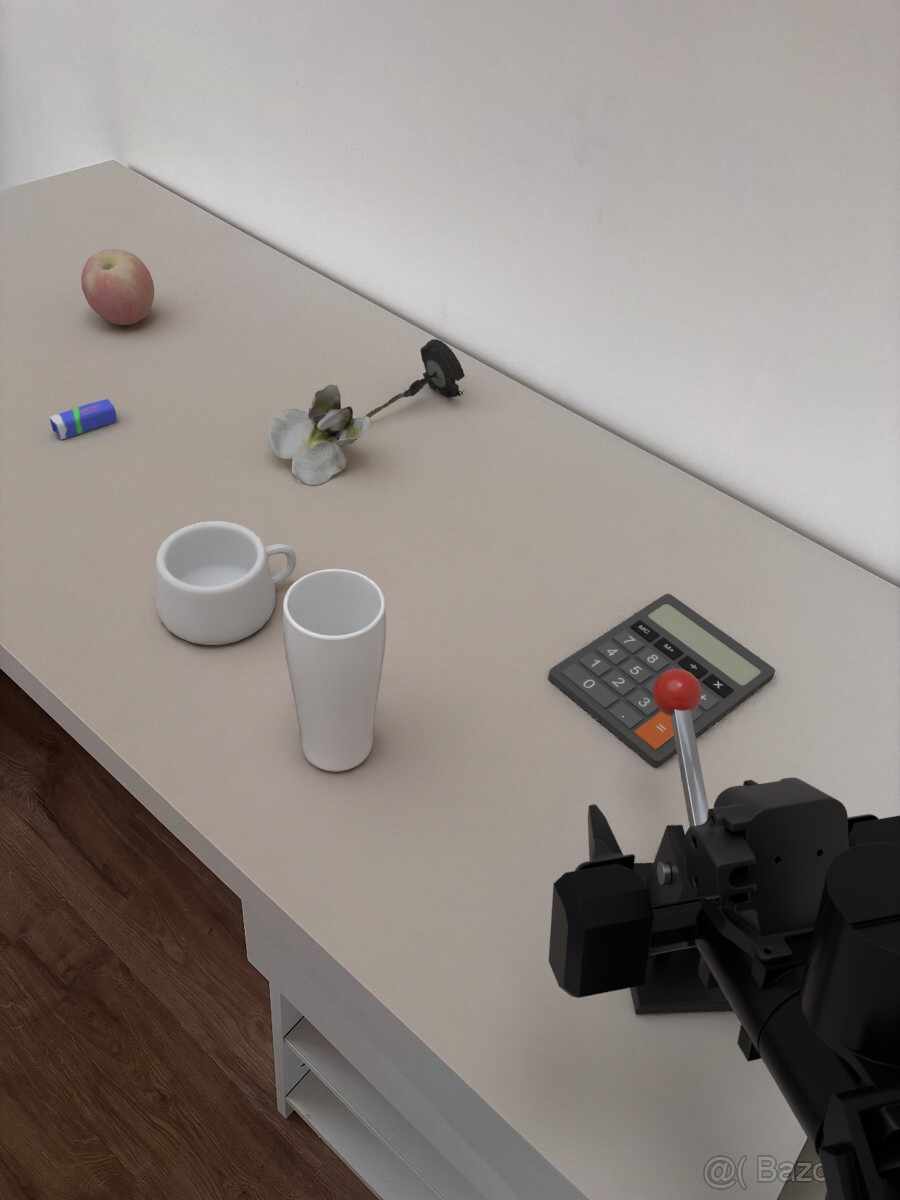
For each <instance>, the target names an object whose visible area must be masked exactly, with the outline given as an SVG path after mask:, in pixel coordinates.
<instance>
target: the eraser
mask: <svg viewBox="0 0 900 1200" xmlns="http://www.w3.org/2000/svg"><path fill="white" fill-rule="evenodd" d="M49 421H50V426H51V429H52V431H53V432H54V433H56V434H57V437H58V439H59V440H64V439H68V438H71V437H75V436H77V435H81V434H83V433H86V432H89V431H91V430H95V429H99V428H102V427H105V426H108V425H111V424H114V423H117V413H116V408H115V406H114V404H113V403H112V402H111V401H110V400H109V398H105V399H101V400H97V401H92V402H90V403H86V404H83V405H81V406H78V407H75V408H72V409H69V410H66V411H63V412H60V413H56V414H53V415H50V416H49Z"/></svg>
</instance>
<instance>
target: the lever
mask: <svg viewBox="0 0 900 1200" xmlns="http://www.w3.org/2000/svg"><path fill="white" fill-rule="evenodd" d="M652 695H653V700H654V702H655V704H656V706H657V707H658V709H659V710H660V711H662V712H663V713H664V714H666V715H669V716H671V721H672V727H673V732H674V738H675V744H676V750H677V753H676V755H677V761H678V766H679V773H680V779H681V784H682V790H683V795H684V801H685V808H686V814H687V819H688V825H689V827H691V826H697V825H702V824H703V823H705V822H706V820H707V814H708V810H709V809H710V808H709V805H708V797H707V792H706V787H705V781H704V777H703V776H704V775H703V771H702V765H701V761H700V754H699V749H698V744H697V737H696V738H695V732H694V727H693V721H692V716H691V713H692V712H693V711H694V710H695V709H696V708H697V707H698V705H699V703H700V701H701V696H702V690H701V686H700V683H699V681H698V680H697V678H696V677H695V676H694V675H693V674H691V673H690V672H688V671H686V670H683V669H670V670H667V671H665V672H663V673H662V674H661V675H660V676H659V677H658V678H657V679H656V681H655V683H654V685H653V690H652ZM697 897H701V895H699V894H697ZM697 897H696V898H697Z"/></svg>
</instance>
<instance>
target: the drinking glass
mask: <svg viewBox="0 0 900 1200" xmlns="http://www.w3.org/2000/svg"><path fill="white" fill-rule="evenodd" d="M282 605H283V606H282V609H283V611H282V612H283V614H282V625H283V626H282V627H283V630H282V631H283V643H284V644H283V645H284V652H285V653H284V654H285V658H286V665H287V669H288V675H289V680H290V686H291V691H292V696H293V702H294V707H295V713H296V717H297V723H298V729H299V741H300V748H301V751H302V754H303V755H304V757H305V758H306V760H307V761H308V762H309V763H310V764H312V765H313V766H314V767H315V768H318V769H321V770H323V771H327V772H345V771H348V770H351V769H354V768H356V767H358V766H359V765H361V764H362V763H363V762H364V761H365V760H366V759H367V757H369V755H370V752H371V750H372V747H373V744H374V726H375V717H376V711H377V705H378V697H379V691H380V685H381V678H382V672H383V666H384V659H385V653H386V639H387V613H386V609H387V608H386V598H385V595H384V593H383V591H382V589H381V588H380V586H379V585H378V584H377V583H376V582H375V581H374V580H372V579H371V578H370V577H369V576H366V575H364V574H363V573H360V572H357V571H355V570H354V571H353V570H351V569H350V570H349V569H344V568H325V569H320V570H316V571H313V572H310V573H308V574H305V575H303V576H302V577H300V578H298V579H297V580H296V581H294V582H293V583H292V585H290V586H289V588H288V589H287V591H286V593H285V595H284V598H283V604H282Z"/></svg>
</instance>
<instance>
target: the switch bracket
mask: <svg viewBox="0 0 900 1200" xmlns="http://www.w3.org/2000/svg"><path fill="white" fill-rule="evenodd" d="M685 834H686V832H685V828H684V826H683V824H668V825H666V827H665V829H664V832H663V835H662V838H661V840H660V844H659V846H658V850H657V852H656V855H655V857H654V860H653V862H634V871H637V872H639V873H640V875H641V877H642V879H643V880H644V882H645V884H646V886H647V888H648V891H649V896H650V901H651V906H653V905H658V904H664V903H669V902H675V901H680V900H686V899H691V898H696V897H697V894H698V893H697V892H696V891H695V890H694V889H693V888H692V887H691V885H690V882H689V880H688V877H687V862H686V841H685ZM700 959H701V954H700V952H699V950H698V949H697V947H691V948H685V949H680V950H675V951H670V952H665V953H659V954H654V955H649V959H648V967H647V975H646V983H645V985H642V986H637V987H632V988H630V992H631V998H632V1002H633V1008H634V1013H635V1015H651V1014H674V1013H676V1014H678V1013H702V1012H703V1013H705V1012H725V1011H726V1012H727V1011H733V1009H732V1007H731V1005H730V1004H729V1002H728V1000H727V998H726V997H725V995H724V993H723V992H722V990H721V988H720V987H719V988H714V989H709V990H707V989H706V987H705V985H704V983H703V982H702V980H701V978H700V976H699V975H698V971H699V965H700Z"/></svg>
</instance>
